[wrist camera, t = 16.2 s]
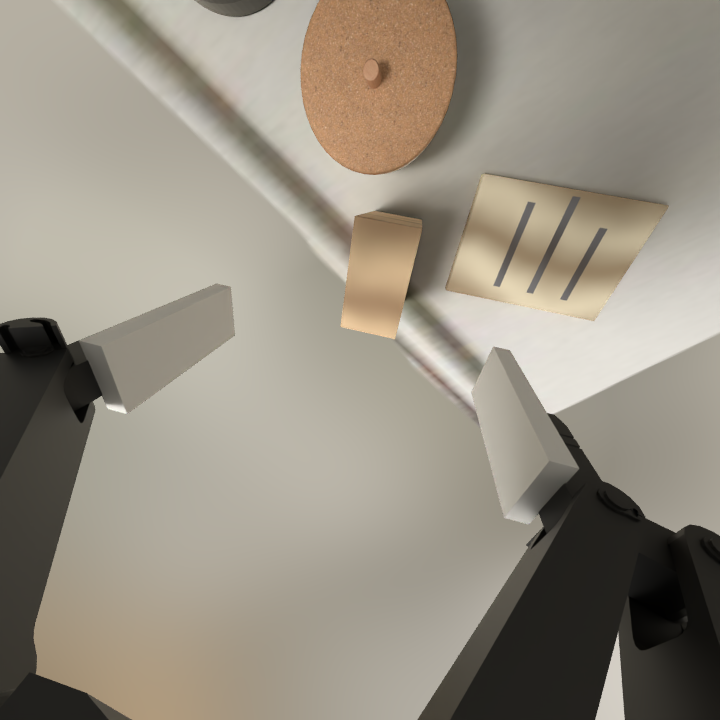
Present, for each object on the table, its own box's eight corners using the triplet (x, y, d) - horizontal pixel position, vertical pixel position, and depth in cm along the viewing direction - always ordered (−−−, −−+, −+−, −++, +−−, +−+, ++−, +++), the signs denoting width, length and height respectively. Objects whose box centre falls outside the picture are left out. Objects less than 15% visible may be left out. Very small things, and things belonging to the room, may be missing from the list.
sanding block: (375, 210, 30) (354, 216, 20) (421, 219, 29) (422, 229, 20) (362, 292, 34) (340, 326, 25) (402, 300, 34) (394, 339, 25)
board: (481, 174, 26) (484, 173, 25) (659, 205, 25) (669, 205, 24) (445, 287, 32) (446, 290, 31) (588, 317, 31) (593, 321, 30)
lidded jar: (390, -18, 22) (372, -145, 14) (473, 105, 24) (499, 58, 16) (307, 115, 27) (259, 79, 19) (383, 204, 29) (369, 207, 21)
